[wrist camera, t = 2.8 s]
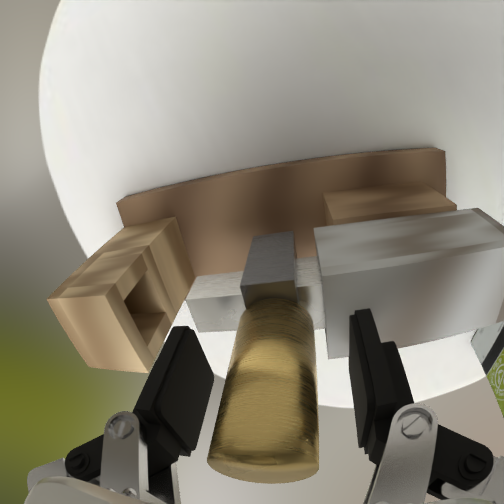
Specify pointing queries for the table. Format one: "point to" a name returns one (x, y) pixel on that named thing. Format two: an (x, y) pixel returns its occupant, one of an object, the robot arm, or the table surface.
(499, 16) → the table surface
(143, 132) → the table surface
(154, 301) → the socket block
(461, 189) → the table surface
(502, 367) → the tea box
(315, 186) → the base
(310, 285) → the brass knob sliding bolt
